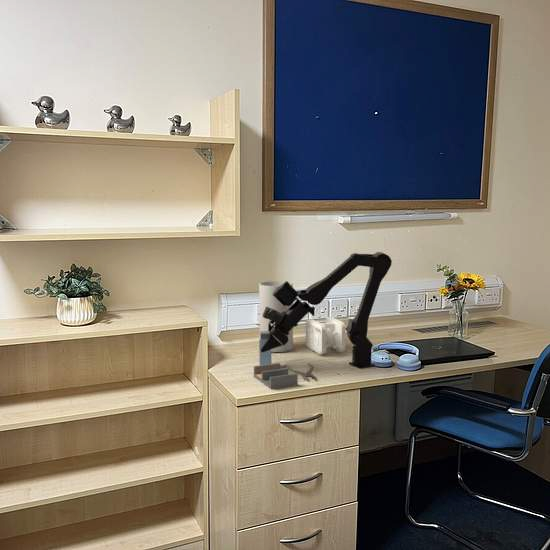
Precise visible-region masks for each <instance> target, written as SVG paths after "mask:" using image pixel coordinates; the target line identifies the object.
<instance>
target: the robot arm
mask: <svg viewBox="0 0 550 550" xmlns="http://www.w3.org/2000/svg"><path fill="white" fill-rule="evenodd" d="M392 262H393V261H392V259H391V257H390V256H389V255H388V254H387V253H385V252H382V251H377V252H375V253H371V254H370V253H357V252H354V253H351V254H350V255H349V256H348V258H346V259H345V260H344V261H343V262H342V263H341V264H339V265H338V266H337V267H335V269H334V270H332V271H331V272H330V273H329V274H327V276H325V277H324V278H323V279H320V280H318V281H316V282H314V283H313V284H311V285H309V286H308V287H306V288H305V289H300V290H296V289H295V288H294V286H293V287H292V286H291V285H290V284H289V282H290V281H287V280H285V283H283V284H282V285H281V286H279V287H278V288H277V289H276V290H275V291H274V292H273V294H272V295H273V296H274V297H275V298H276V299H277V300H278V301H279V302H280V303H281V304H282V305H283V306H286V305H287V306H290V305H291V304H292V303H293V305H292V306H291V307H290V308H289V309H288V310H287V311H283V312H282V313H280V312H278V311H276V310H274V309H271V308H269V307H266V308H265V310H264V313H263V317H264V318H266V319H269V320H270V321H269V323H268V331H270V332H269V339H268V340H267V342H266V343H265V344H264V346H263V347H262V349H261V352H262V353H263V352H266V351H268V350H271V349H273V348H276V347H279V346H283V345H285V344H286V343H287V342H288V334H289V332H290V331H291V330H292V329H293V330H294V328H296V327H298V326H299V324H300V322H301V321H302V320H303V319H304V318H305V317H306V316H307V315H308V314H310V315H311V316H313V317H314V316H315V309H316V307H315V306H318V305H319V304H321V303H322V302H323V301H324V299H325V298H326V297H327V296H328V294H329V293H330V291H331V290H332V289H333V288H334V287H335V286H336V285H338V283H340V282H341V281H342V280H343V279H344V278H346V277H347V276H348V275H349V274H350V273H351V272H353V271H354V270H355V269H357V268H358V267H365V268H367V267H368V268H369V276H368V279H367V283H366V285H365V289H364V290H363V291H364V292H363V295H362V298H361V300H360V303H359V307H358V310H357V312H356V315H355V316H354V318H353V319H352V318H349V319H348V322H347V326H346V327H345V332H346V337H347V338H348V340H349V342H351V344H353V346H352V351H351V352H352V354H351V356H352V359H351V361H350V362H348V365H350V366H353V367H356V368H359V369H363V368H369V367H373V366H375V363H373V362H372V348H373V346H374V343H372V342H371V340H370V339H369V338H368V337H367V335H368V329H369V327H368V326H369V319H370V317H371V316H370V315H371V312H372V309H373V307H374V304H375V301H376V297H377V295H378V291H379V289H380V286H381V283H382V280H384V278H386V277H385V276H386V275H388V272H389V271H390V268H391V266H392ZM309 304H310V305H309ZM311 305H312V306H311Z"/></svg>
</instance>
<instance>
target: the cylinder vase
mask: <svg viewBox="0 0 550 550" xmlns="http://www.w3.org/2000/svg"><path fill="white" fill-rule="evenodd" d="M285 282H286V280H284V281H281V280H280V281H279V280H278V281H277V280H273V281H271V280H270V281H268V280H267V281H262V282H259V283H258V288H259V289H258V297H259V298H258V300H259V305H258V306H259V309H258V310H259V332H260V331H268V323H269V321H270V320H269V319H266V318H264V317H263V313H264V310H265V308H266V307H269V308H271V309H274V310H276V311H278V312H280V313H282V312H283V311H287V310H288V309H289V308H290V307H291V306H292V305H293V304H294V302H293V303H292V304H291V305H290V306H287V305H286V306H283V305H282V304H281V303H280V302H279V301H278V300H277V299H276V298H275V297H274V296H273V295H272V294H273V292H274V291H275V290H276V289H277V288H278V287H279V286H281V285H282V284H283V283H285ZM288 282H289V284H290V285H291V286H292V287H293V288H294V285H293V282H292V281H288ZM293 348H294V328H293V329H292V330H291V331H290V332H289V334H288V342H287V343H286V344H285V345H283V346H279V347H276V348H273V349H271V352H281V353H287V352H290V351H291V350H292V349H293Z"/></svg>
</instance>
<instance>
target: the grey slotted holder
mask: <svg viewBox="0 0 550 550" xmlns="http://www.w3.org/2000/svg"><path fill="white" fill-rule="evenodd" d="M288 368H289V367H287V368H285V367H284V368H281V363H280V362H278V363H277V362H276V363H272V364H267V365H260V364H259V365H254V366H253V378H255V379H256V380H257V381H259V382H260V381H261V382H260V383H262V384H263V383H264V384H263V385H265V386H266V387H267V386H268V387H267V388H269V389H270V388H271V389H270V390H273V389H272V388H274V389H279V388H278V387H281V388H286V386H288V387H294V386H298V384H299V383H298V381H299V380H298V375H299V374H298V373H295V372H294V373H290V371H289V369H290V368H289V369H288Z"/></svg>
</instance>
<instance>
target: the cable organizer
mask: <svg viewBox="0 0 550 550" xmlns="http://www.w3.org/2000/svg"><path fill="white" fill-rule="evenodd" d="M305 344H306V346H307V348H308V349H309V350H311V351H314V352H315V353H316V354H317V355H319V356H322V355H324V354H326V352H327V351H328V348H330V347H331V349H333V350H335V351H336V352H338V353H342V352H345V350H346V325H345V322H344V321H341V320H339V319H337V318H335V317H332V316H326V318H325V322H322V323H321V322H319V321H317V320H315V319H313V318H308V319H306V321H305Z"/></svg>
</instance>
